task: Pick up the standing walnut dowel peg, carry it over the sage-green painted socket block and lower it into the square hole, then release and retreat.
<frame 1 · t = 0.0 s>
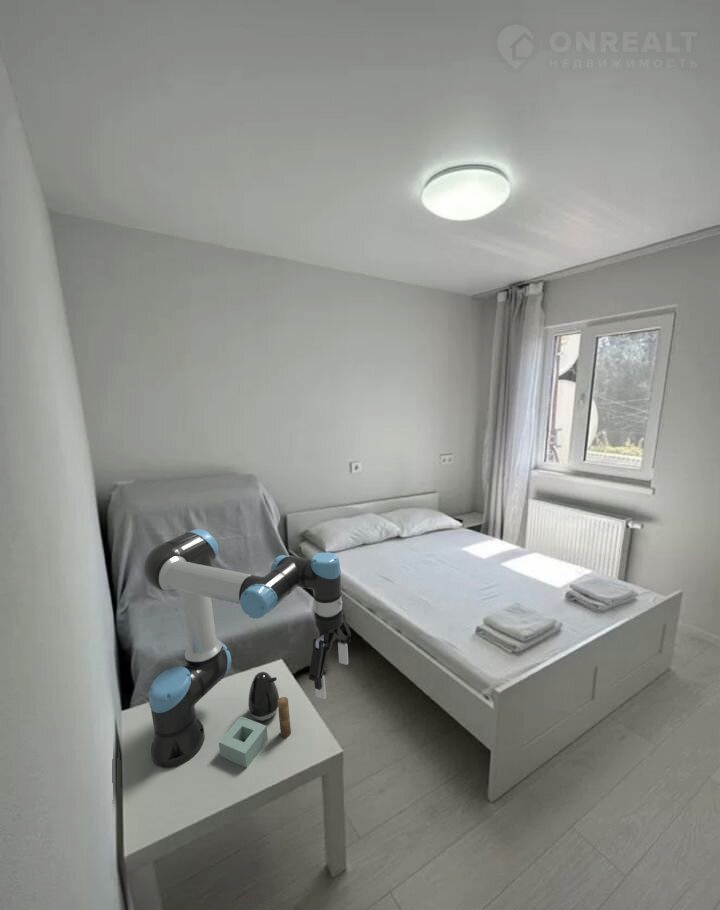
hand: (332, 679, 111), 28 cm above the table, fingers open, 13 cm apart
peg: (285, 733, 127), on the table
socket block: (244, 747, 122), on the table
pump dispenser: (265, 713, 135), on the table
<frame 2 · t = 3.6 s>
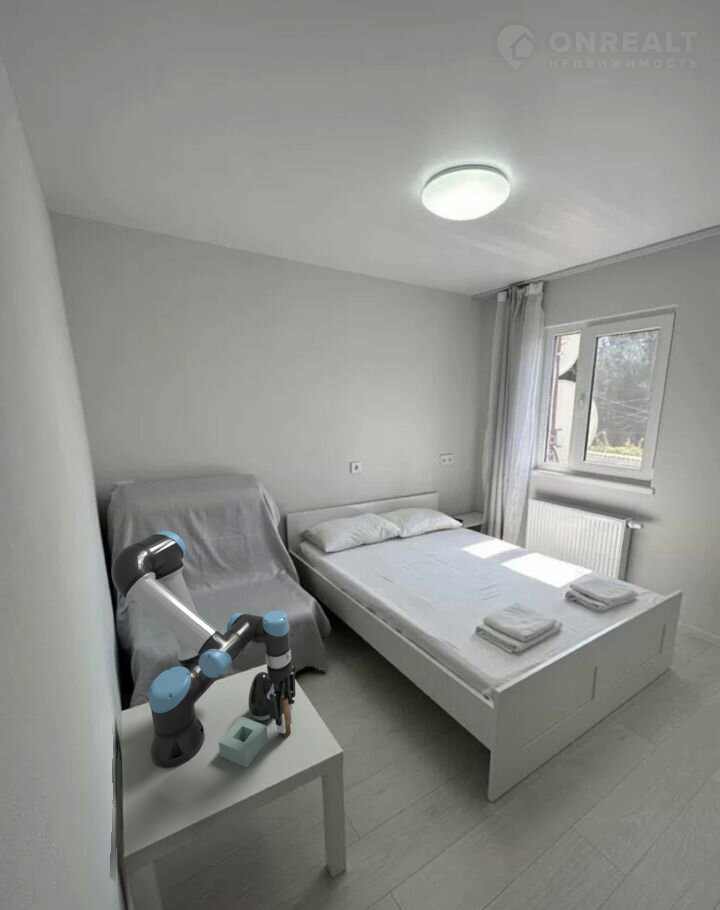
hand: (285, 726, 126), 3 cm above the table, fingers closed on peg, 3 cm apart
peg: (285, 733, 127), on the table, touching gripper
everything else where it was.
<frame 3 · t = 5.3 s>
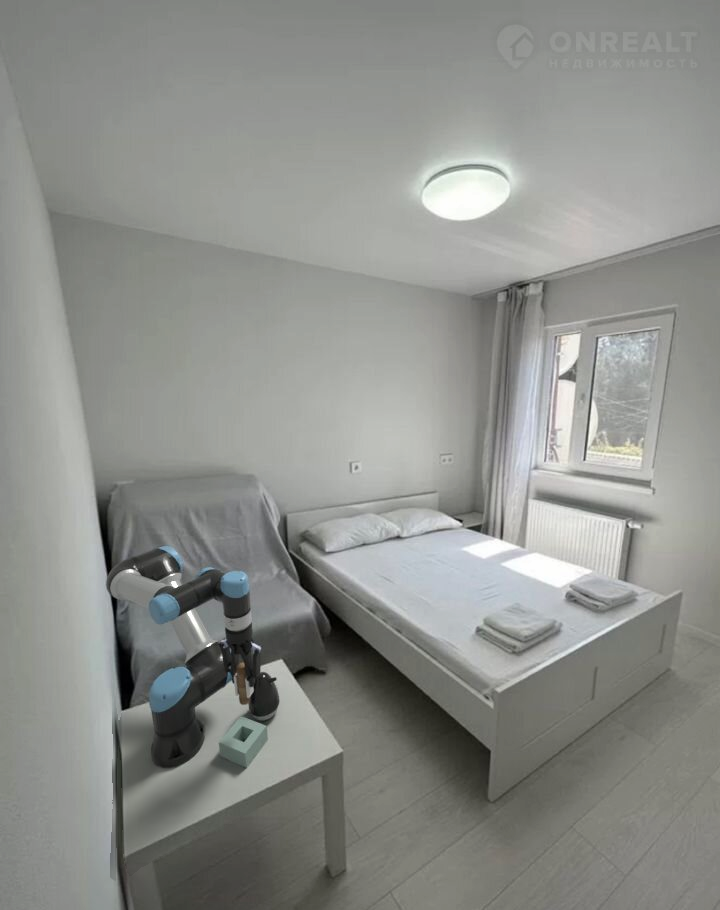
hand: (244, 693, 120), 18 cm above the table, fingers closed on peg, 3 cm apart
peg: (245, 700, 121), point 15 cm above the table, touching gripper
everything else where it was.
when the fingers open (6 cm above the table, at t = 7.3 s): peg drops 3 cm, resting in socket block.
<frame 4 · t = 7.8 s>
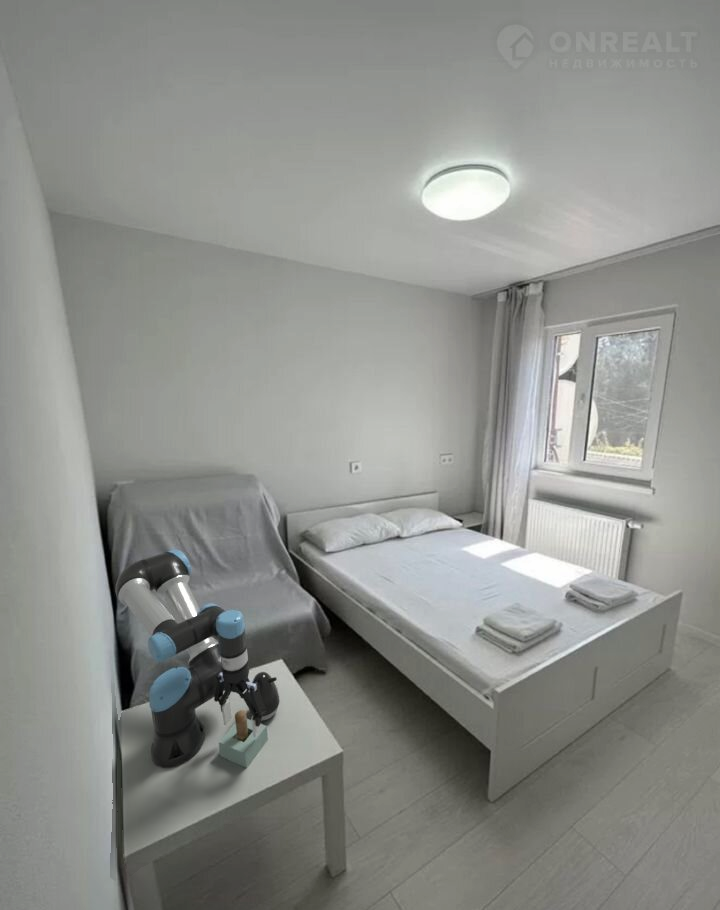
hand: (242, 727, 121), 7 cm above the table, fingers open, 10 cm apart
peg: (244, 748, 122), resting in socket block
everything else where it was.
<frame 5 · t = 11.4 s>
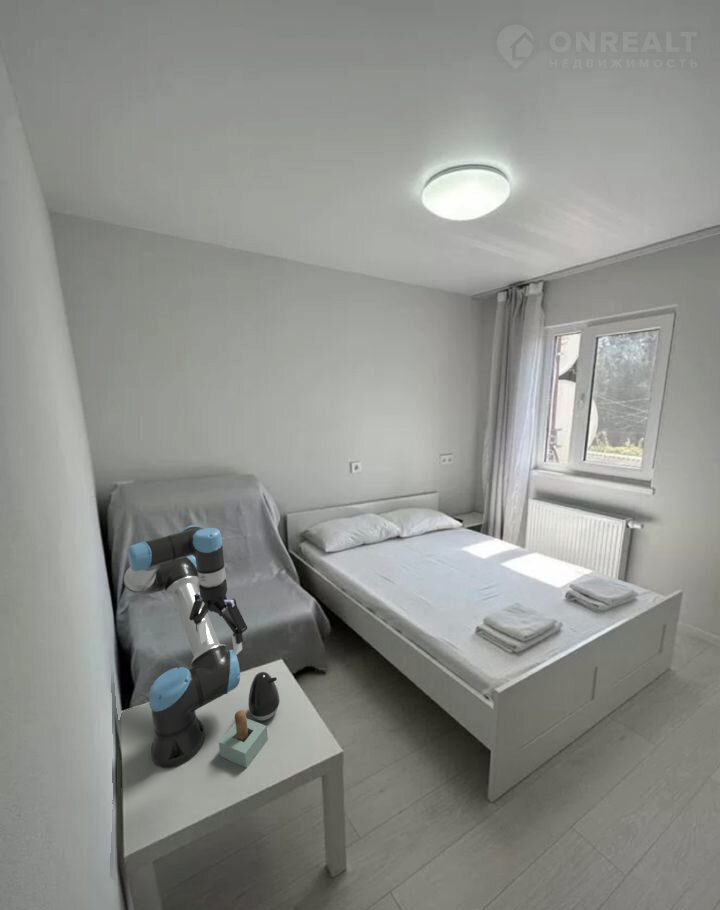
hand: (220, 646, 119), 33 cm above the table, fingers open, 13 cm apart
nothing on the table moved.
at the end: peg 0.1 cm off-centre on the socket block, point 0.0 cm above the socket block's base; peg tilted 0°; the gripper is holding nothing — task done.
